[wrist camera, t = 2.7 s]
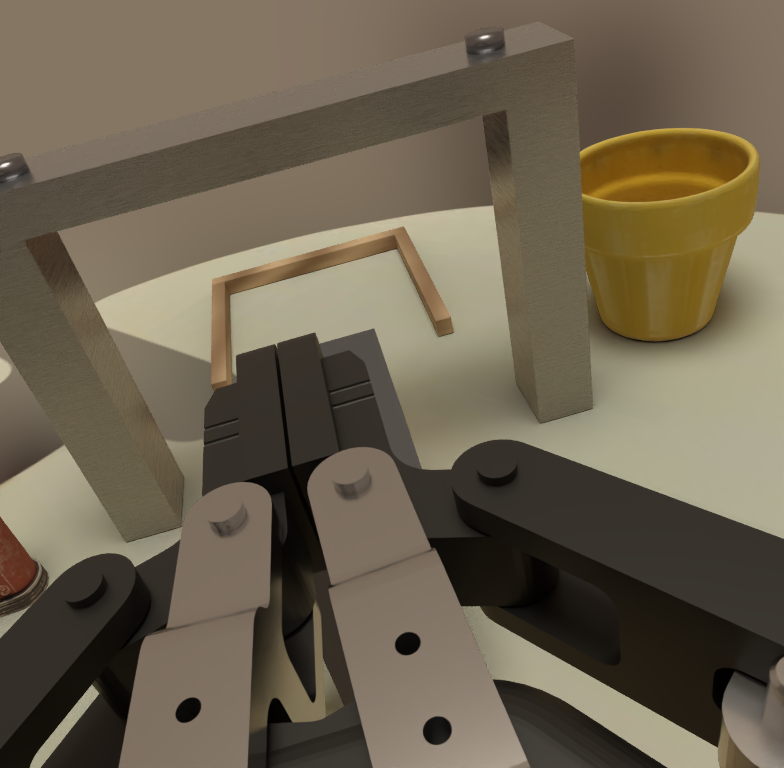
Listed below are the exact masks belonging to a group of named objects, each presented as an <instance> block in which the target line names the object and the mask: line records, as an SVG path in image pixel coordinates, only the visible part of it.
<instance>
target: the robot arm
mask: <svg viewBox="0 0 784 768" xmlns="http://www.w3.org/2000/svg"><path fill="white" fill-rule="evenodd" d="M277 347H278V349H277ZM277 347H276V345H275V344H273V345H270V346H267V347H263V348H260V349H256V350H253V351H249V352H246V353H242V354H239V355H237V356H236V370H237V383H235V384H231V385H227V386H224V387H221V388H217V389H216V390H215V392H214V394H213V395H212V397H211V399H210V400H209V402H208V404H207V406H206V407H205V419H204V420H205V421H204V428H205V431H204V445H205V447H204V453H203V489H202V498H201V499H200V500H198V501H197V502H196V503H195V504H194V505H193V507H192V508H191V509H190V510H189V512H188V513H187V515H186V517H185V520H184V523H183V527H182V534H181V539H180V540H179V541H178V542H176V543H175V544H174V545H173V546H171V547H170V548H168V549H166V550H165V551H163V552H161V553H159V554H158V555H156V556H154V557H152V558H151V559H149V560H147V561H145V562H143V563H142V564H140V565H138V566H136V567H134V565H133V564H132V562H131V561H130V560H129V559H128V558H127V557H125V556H122V555H119V554H112V553H107V554H100V555H96V556H92V557H90V558H87V559H85V560H83V561H81V562H79V563H77V564H75V565H74V566H72V567H70V568H69V569H68V570H66V571H65V572H64V573H63V574H61V575H60V576H59V577H58V578H57V579H56V580H55V581H54V582H53V583H52V584H51V585H50V587H49V588H48V589H47V590H46V591H45V592H44V593H43V594H42V595H41V596H40V597H39V598H38V599H37V600H36V601H35V602H34V603H33V605H32V606H31V607H30V608H29V609H28V610H27V611H26V612H25V613H24V614H23V615H22V616H21V617H20V618H19V619H18V620H17V621H16V622H15V624H14V625H13V626H12V627H11V628H10V629H9V630H8V631H7V632H6V633H5V634H4V635H3V636H2V637H1V638H0V768H29V767H30V764H31V762H32V760H33V758H34V756H35V755H36V753H37V752H38V750H39V749H40V748H41V746H42V745H43V744H44V743H45V741H46V740H47V739H48V738H49V737H50V735H51V734H52V733H53V732H54V730H55V729H56V728H57V727H58V725H59V724H60V723H61V722H62V720H63V719H64V718H65V717H66V716H67V714H68V713H69V712H70V711H71V709H72V708H73V707H74V706H75V704H76V703H77V702H78V701H79V699H80V698H81V697H82V696H83V695H84V693H85V692H86V691H87V690H88V688H89V687H90V686H91V685H93V686H94V687H95V689H96V690H97V691H98V692H99V695H98V696H97V697H96V699H95V700H94V701H93V703H92V704H91V705H90V706H89V708H88V709H87V710H86V711H85V713H84V714H83V715H82V716H81V718H80V719H79V720H78V721H77V723H76V724H75V725H74V726H73V728H72V729H71V730H70V731H69V733H68V734H67V735H66V737H65V738H64V739H63V740H62V742H61V743H60V744H59V745H58V747H57V748H56V749H55V750H54V752H53V753H52V754H51V755H50V757H49V758H48V759H47V760H46V762H45V763H44V764H43V765H42V767H41V768H667V767H665V766H664V765H662V764H661V763H659V762H658V761H656V760H655V759H653V758H651V757H650V756H648V755H647V754H645V753H644V752H642V751H641V750H639V749H638V748H636V747H634V746H633V745H631V744H630V743H628V742H627V741H625V740H624V739H622V738H621V737H619V736H617V735H616V734H614V733H613V732H611V731H610V730H608V729H607V728H605V727H604V726H602V725H601V724H599V723H597V722H596V721H594V720H593V719H591V718H590V717H588V716H587V715H585V714H584V713H582V712H580V711H579V710H577V709H576V708H574V707H573V706H571V705H570V704H568V703H566V702H565V701H563V700H561V699H560V698H557V697H555V696H553V695H551V694H549V693H547V692H545V691H543V690H540V689H537V688H534V687H531V686H528V685H525V684H520V683H515V682H510V681H505V680H492V677H491V675H490V673H489V670H488V668H487V666H486V663H485V661H484V659H483V656H482V654H481V652H480V650H479V647H478V645H477V643H476V640H475V638H474V636H473V633H472V631H471V629H470V626H469V624H468V622H467V619H466V617H465V615H464V612H463V610H462V608H461V606H480V608H481V609H482V611H483V612H484V614H485V615H486V616H487V617H488V618H489V619H491V620H492V621H494V622H495V623H497V624H499V625H501V626H502V627H504V628H506V629H508V630H509V631H511V632H513V633H515V634H517V635H518V636H520V637H522V638H524V639H525V640H527V641H529V642H531V643H533V644H534V645H536V646H538V647H540V648H541V649H543V650H545V651H547V652H549V653H550V654H552V655H554V656H556V657H558V658H559V659H561V660H563V661H565V662H566V663H568V664H570V665H572V666H574V667H575V668H577V669H579V670H581V671H582V672H584V673H586V674H588V675H590V676H591V677H593V678H595V679H597V680H598V681H600V682H602V683H604V684H606V685H607V686H609V687H611V688H613V689H614V690H616V691H618V692H620V693H622V694H623V695H625V696H627V697H629V698H630V699H632V700H634V701H636V702H638V703H639V704H641V705H643V706H645V707H646V708H648V709H650V710H652V711H654V712H655V713H657V714H659V715H661V716H663V717H664V718H666V719H668V720H670V721H671V722H673V723H675V724H677V725H679V726H680V727H682V728H684V729H686V730H687V731H689V732H691V733H693V734H695V735H696V736H698V737H700V738H702V739H703V740H705V741H707V742H709V743H711V744H712V745H714V746H716V747H718V761H719V766H720V768H784V539H782V538H780V537H777V536H774V535H771V534H769V533H766V532H763V531H761V530H758V529H755V528H752V527H750V526H747V525H744V524H742V523H739V522H736V521H734V520H731V519H728V518H725V517H723V516H720V515H717V514H715V513H712V512H709V511H707V510H704V509H701V508H698V507H696V506H693V505H690V504H688V503H685V502H682V501H680V500H677V499H674V498H671V497H669V496H666V495H663V494H661V493H658V492H655V491H653V490H650V489H647V488H644V487H642V486H639V485H636V484H634V483H631V482H628V481H625V480H623V479H620V478H617V477H615V476H612V475H609V474H607V473H604V472H601V471H598V470H596V469H593V468H590V467H588V466H585V465H582V464H580V463H577V462H574V461H571V460H569V459H566V458H563V457H561V456H558V455H555V454H553V453H550V452H547V451H544V450H542V449H539V448H536V447H534V446H531V445H528V444H525V443H522V442H519V441H514V440H492V441H487V442H484V443H481V444H478V445H476V446H474V447H471V448H470V449H468V450H467V451H465V452H464V453H463V454H462V455H461V456H459V458H458V459H457V460H456V461H455V463H454V465H453V467H452V469H451V470H424V469H418V468H414V467H411V466H409V465H406V464H405V463H403V462H401V461H400V460H399V459H398V458H397V457H396V456H395V455H394V454H393V452H392V450H391V448H390V445H389V442H388V439H387V435H386V432H385V428H384V425H383V422H382V418H381V415H380V412H379V408H378V405H377V402H376V398H375V395H374V392H373V388H372V385H371V382H370V378H369V375H368V371H367V368H366V365H365V362H364V361H363V360H361V359H360V358H359V357H358V356H356V355H355V354H354V353H352V352H351V351H350V350H348V351H344V352H341V353H337V354H334V355H331V356H327V357H323V354H322V350H321V347H320V344H319V341H318V339H317V336H316V333H311V334H308V335H304V336H301V337H297V338H294V339H290V340H287V341H283V342H280V343H278V344H277ZM324 570H328V573H329V577H330V581H331V585H329V586H328V589H329V595H330V599H331V603H332V607H333V611H334V615H335V619H336V623H337V627H338V631H339V635H340V639H341V643H342V647H343V651H344V655H345V659H346V663H347V667H348V671H349V675H350V679H351V683H352V687H353V691H354V695H355V699H356V700H355V701H353V702H352V703H350V704H348V705H346V706H345V707H343V708H341V709H339V710H338V711H336V712H334V713H333V714H331V715H329V716H327V717H326V713H325V694H324V672H323V650H322V629H321V613H320V609H319V606H318V604H317V601H316V599H315V598H316V591H315V584H314V576H313V574H314V573H317V572H321V571H324Z"/></svg>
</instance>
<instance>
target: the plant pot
mask: <svg viewBox="0 0 784 768" xmlns="http://www.w3.org/2000/svg"><path fill="white" fill-rule="evenodd" d="M580 168H581V187H582V207H583V227H584V246H585V266H586V271H587V275H588V278H589V281H590V284H591V287H592V290H593V293H594V297H595V300H596V304H597V307H598V310H599V313H600V316H601V319H602V320H603V322H604V323H605V325H606V326H607V327H608V328H610V329H611V330H612V331H614V332H616V333H617V334H620V335H622V336H625V337H628V338H632V339H637V340H643V341H666V340H672V339H678V338H682V337H685V336H688V335H690V334H693V333H695V332H697V331H698V330H700V329H702V328H703V327H704V326H705V325H706V324H707V323H708V322H709V321H710V320H711V318H712V316H713V313H714V310H715V307H716V303H717V300H718V296H719V293H720V290H721V287H722V283H723V280H724V277H725V274H726V271H727V267H728V264H729V261H730V258H731V255H732V252H733V249H734V245H735V242H736V239H737V236H738V235H739V234H740V233H742V232H743V231H744V230H745V229H746V228H747V226H748V225H749V224H750V222H751V220H752V218H753V216H754V212H755V207H756V200H757V193H758V183H759V169H760V159H759V155H758V152H757V151H756V149H755V148H754V147H753V146H752V145H751V144H750V143H749V142H748V141H746V140H744V139H743V138H740V137H738V136H735V135H732V134H729V133H725V132H721V131H715V130H706V129H696V128H695V129H694V128H672V129H671V128H669V129H657V130H648V131H641V132H636V133H632V134H626V135H623V136H618V137H615V138H611V139H608V140H605V141H602V142H600V143H597V144H594V145H592V146H590V147H588V148H586V149H584V150H582V151H580Z"/></svg>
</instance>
